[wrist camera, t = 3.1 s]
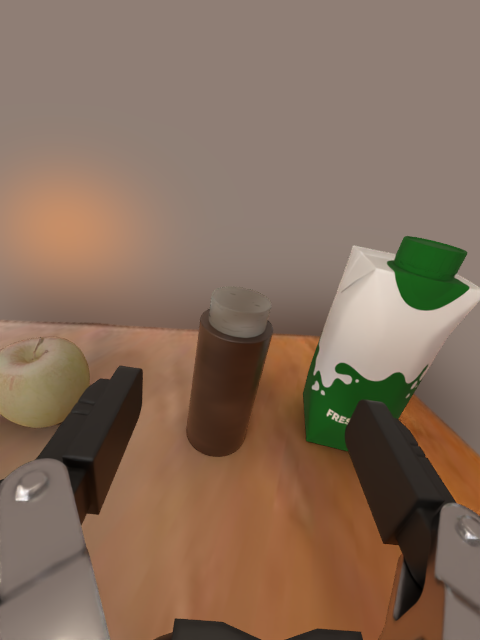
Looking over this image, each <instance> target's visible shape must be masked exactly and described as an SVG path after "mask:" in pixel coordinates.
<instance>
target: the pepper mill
mask: <svg viewBox="0 0 480 640" xmlns="http://www.w3.org/2000/svg"><path fill="white" fill-rule="evenodd" d="M270 309H271V302H270V300H269V299H268V298H267V297H265V296H264V295H262V294H261V293H259V292H256V291H253V290H250V289H246V288H241V287H222V288H218V289H216V290H215V291H214V292H213V293H212V298H211V305H210V309H208V310H207V311H205V312H204V313H203V314H202V316H201V318H200V326H199V334H198V342H197V350H196V358H195V366H194V374H193V382H192V390H191V398H190V406H189V413H188V421H187V429H186V430H187V437H188V439H189V441H190V443H191V444H192V446H193V447H194V448H195V449H197V450H198V451H200V452H201V453H203V454H206V455H209V456H216V457H220V456H226V455H229V454H232V453H234V452H235V451H236V450H238V449H239V448H240V446H241V445H242V443H243V441H244V438H245V435H246V431H247V427H248V423H249V420H250V416H251V412H252V408H253V405H254V401H255V397H256V394H257V390H258V386H259V382H260V379H261V375H262V371H263V367H264V364H265V360H266V356H267V353H268V349H269V345H270V341H271V338H272V334H273V327H272V325H271V323H270V322H269V321H268V317H269V313H270Z"/></svg>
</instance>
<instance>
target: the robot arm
mask: <svg viewBox="0 0 480 640" xmlns="http://www.w3.org/2000/svg"><path fill="white" fill-rule="evenodd" d="M142 382H143V372H142V369H140V368H133V367H126V366H119V367H118V368H117V370H116V371H115V373H114V374H113V376H112V378H111V379H110V380H108V379H101V378H100V379H99V380H97V381H96V382H95V383H93V384H92V385H90V386H89V387H88V388H86V390H85V391H84V393H83V394H82V395H81V397H80V398H79V400H78V403H76V404H75V405H74V407H73V408H72V410H71V412H70V413H69V414H68V415H67V417H66V418H65V420H64V421H63V422H62V424H61V425H60V427H59V428H58V429H57V431H56V432H55V434H54V435H53V436H52V438H51V439H50V441H49V442H48V444H47V445H46V446H45V448H44V449H43V451H42V452H41V453H40V455H39V456H38V457H37V458H36V459H35V460H34V461H31V462H28V463H26V464H24V465H22V466H20V467H18V468H17V469H16V470H14V471H13V472H12V473H10V474H9V475H8V476H7V477H6V478H5V479H3V480H0V640H110V636H109V632H108V628H107V624H106V620H105V616H104V612H103V608H102V604H101V600H100V596H99V591H98V587H97V583H96V579H95V575H94V571H93V567H92V563H91V559H90V556H89V552H88V549H87V548H86V544H85V540H84V536H83V532H82V528H81V525H82V523H83V521H84V519H85V516H86V514H97V515H99V513H100V510H101V508H102V505H103V503H104V501H105V498H106V496H107V493H108V491H109V489H110V486H111V484H112V481H113V479H114V476H115V474H116V472H117V469H118V467H119V464H120V462H121V459H122V457H123V455H124V452H125V450H126V447H127V445H128V442H129V440H130V438H131V435H132V433H133V430H134V428H135V426H136V423H137V421H138V418H139V415H140V411H141V407H142ZM345 443H346V447H347V449H348V452H349V454H350V457H351V460H352V462H353V465H354V468H355V470H356V473H357V475H358V478H359V481H360V483H361V486H362V489H363V491H364V494H365V496H366V499H367V502H368V504H369V507H370V510H371V512H372V515H373V517H374V520H375V523H376V525H377V528H378V531H379V533H380V536H381V538H382V541H383V544H392V545H399V546H400V549H401V551H402V554H401V555H400V557H399V559H398V563H397V568H396V573H395V578H394V583H393V588H392V593H391V598H390V603H389V608H388V613H387V618H386V622H385V625H384V628H383V631H382V633H381V635H380V637H379V638H378V640H480V516H479V515H478V514H476V513H475V512H473V511H472V510H470V509H469V508H467V507H465V506H462V505H460V504H457V503H456V502H455V500H454V499H453V497H452V495H451V494H450V492H449V491H448V489H447V488H446V486H445V485H444V483H443V482H442V480H441V478H440V477H439V475H438V474H437V472H436V471H435V469H434V468H433V466H432V464H431V463H430V461H429V460H428V458H426V457H425V454H424V452H423V451H422V449H421V447H418V443H417V441H416V440H415V438H414V437H413V435H412V434H411V432H410V431H409V430H408V429H407V428H406V427H405V426H404V425H403V424H402V423H401V422H400V421H399V420H398V419H397V418H394V417H393V416H392V414H391V412H390V411H389V409H388V408H387V406H386V405H385V404H384V403H383V402H378V401H370V400H360V401H359V402H358V404H357V406H356V408H355V410H354V412H353V414H352V416H351V418H350V421H349V423H348V425H347V427H346V430H345ZM154 640H261V639H258V638H256V637H254V636H252V635H250V634H248V633H245V632H243V631H241V630H239V629H237V628H234V627H232V626H230V625H228V624H226V623H224V622H216V621H202V620H188V619H175V621H174V627H173V632H172V633H169V634H166V635H163V636H160V637H158V638H156V639H154ZM286 640H363V638H362V634H361V632H356V631H342V630H328V629H315V630H312V631H309V632H306V633H303V634H300V635H297V636H294V637H292V638H289V639H286Z"/></svg>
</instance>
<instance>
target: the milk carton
mask: <svg viewBox="0 0 480 640" xmlns="http://www.w3.org/2000/svg"><path fill="white" fill-rule="evenodd" d="M466 255H467V252H466V251H465V250H462V249H460V248H457V247H454V246H450V245H447V244H443V243H440V242H436V241H431V240H427V239H422V238H417V237H410V236H406V237H404V238H403V241H402V243H401V245H400V247H399V250H398V252H397V254H392V253H388V252H382V251H378V250H373V249H368V248H363V247H359V246H353V247H352V251H351V254H350V257H349V259H348V262H347V265H346V268H345V271H344V274H343V277H342V280H341V282H340V284H339V287H338V291H337V293H336V296H335V299H334V302H333V304H332V306H331V309H330V312H329V315H328V317H327V320H326V323H325V326H324V329H323V331H322V334H321V337H320V340H319V342H318V345H317V348H316V351H315V354H314V356H313V359H312V362H311V365H310V368H309V372H308V376H307V380H306V384H305V388H304V392H303V399H304V414H305V429H306V441H308V442H312V443H316V444H320V445H324V446H328V447H332V448H336V449H340V450H344V451H348V449H347V447H346V443H345V430H346V427H347V425H348V423H349V421H350V418H351V416H352V414H353V412H354V410H355V408H356V406H357V404H358V402H359V401H360V400H370V401H378V402H383V403H384V404H385V405H386V406H387V408H388V409H389V411H390V412H391V414H392V416H393V417H394V418H397V419H399V417H400V415H401V413H402V412H403V410H404V408H405V407H406V405H407V403H408V402H409V400H410V398H411V397H412V395H413V393H414V392H415V390H416V389H417V387H418V385H419V383H420V382H421V380H422V379H423V377H424V375H425V374H426V372H427V370H428V368H429V367H430V365H431V364H432V362H433V360H434V359H435V357H436V356H437V354H438V352H439V351H440V349H441V347H442V346H443V344H444V342H445V340H446V339H447V337H448V336H449V335H450V333H451V332H452V331H453V330H454V329H455V327H456V326H457V325H458V324H459V323H460V322H461V321H462V320H463V319H464V317H466V315H467V314H468V313H469V312H470V311H471V310H472V309H473V308H474V307H475V305H476V304H477V303H478V302H479V301H480V287H478V286H476V285H475V284H473V283H471V282H470V281H468V280H466V279H465V278H463V277H461V276H460V275H458V274H457V272H458V270H459V268H460V266H461V264H462V263H463V261H464V259H465V257H466Z"/></svg>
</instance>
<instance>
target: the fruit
mask: <svg viewBox="0 0 480 640" xmlns="http://www.w3.org/2000/svg"><path fill="white" fill-rule="evenodd" d="M89 382H90V376H89V368H88V364H87V361H86V359H85V357H84V355H83V353H82V351H81V350H80V349H79V348H78V347H77V346H76V345H75V344H74V343H72V342H70V341H69V340H66V339H64V338H60V337H40V338H31V339H26V340H21V341H18V342H15V343H13V344H10V345H8V346H6V347H5V348H3V349H2V350H0V414H1V415H2V416H3V417H5V418H6V419H8V420H9V421H12V422H14V423H16V424H19V425H22V426H26V427H30V428H44V427H49V426H53V425H56V424H59V423H61V422H63V421H64V420H65V418H66V417H67V415H68V414H69V413H70V412H71V410H72V408H73V407H74V405H75V404H76V403H78V400H79V398H80V397H81V395H82V394H83V393H84V391H85V390H86V388H88V387H89Z"/></svg>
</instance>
